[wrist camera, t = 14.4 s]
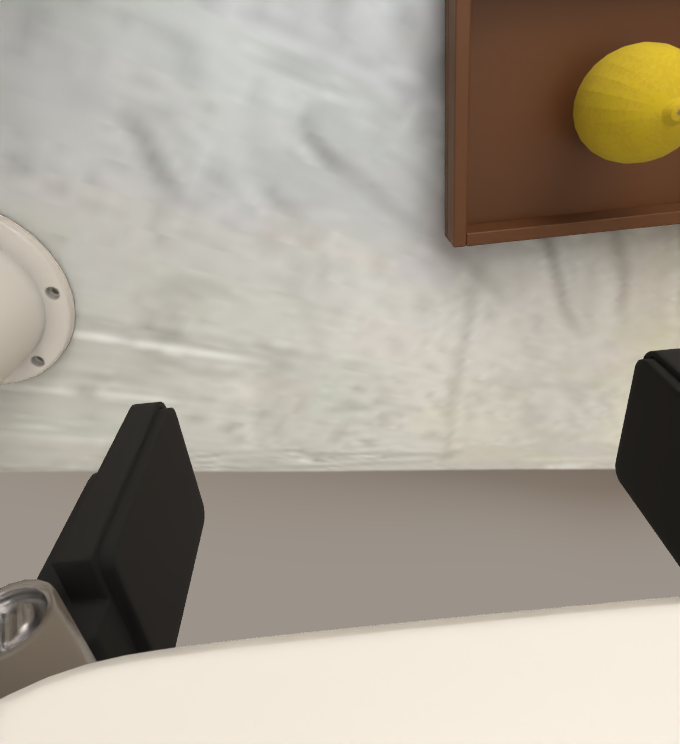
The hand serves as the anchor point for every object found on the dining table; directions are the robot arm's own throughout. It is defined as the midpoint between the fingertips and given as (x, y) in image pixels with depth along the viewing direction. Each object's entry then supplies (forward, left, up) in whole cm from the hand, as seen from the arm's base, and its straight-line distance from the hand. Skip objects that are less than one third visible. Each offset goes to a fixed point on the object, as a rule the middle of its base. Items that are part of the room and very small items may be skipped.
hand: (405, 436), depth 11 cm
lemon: (+15, +3, -26) cm, 30 cm away
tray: (+15, +3, -26) cm, 30 cm away
